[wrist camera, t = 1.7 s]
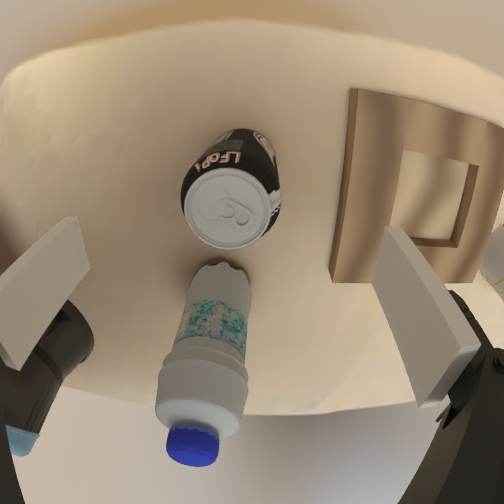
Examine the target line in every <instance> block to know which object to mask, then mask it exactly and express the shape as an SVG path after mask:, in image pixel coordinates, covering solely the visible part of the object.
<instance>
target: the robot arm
mask: <svg viewBox="0 0 504 504" xmlns="http://www.w3.org/2000/svg"><path fill="white" fill-rule="evenodd" d="M90 269H91V267H90V263H89V260H88V256H87V252H86V248H85V245H84V241H83V237H82V232H81V228H80V224H79V219H78V216H65V217H64V218H63V219H62V220H60V221H59V222H58V223H57V224H56V225H54V226H53V227H52V228H51V229H50V230H49V231H47V232H46V233H45V234H44V235H43V236H42V237H41V238H40V239H38V240H37V241H36V242H35V243H34V244H33V245H32V246H31V247H30V248H29V249H27V250H26V251H25V252H24V253H23V254H22V255H21V256H20V257H19V258H18V259H17V260H16V261H15V262H14V263H13V264H12V265H11V266H10V267H9V268H8V269H7V270H6V271H5V272H4V273H3V274H2V275H1V276H0V504H25V502H24V499H23V496H22V492H21V489H20V486H19V483H18V479H17V476H16V472H15V468H14V464H13V460H12V455H11V454H14V455H16V456H21V457H22V456H26V455H28V454H29V453H30V451H31V449H32V447H33V445H34V443H35V441H36V439H37V438H38V437H39V436H40V435H39V432H40V430H41V428H42V425H43V423H44V421H45V419H46V416H47V414H48V412H49V410H50V407H51V405H52V403H53V401H54V399H55V397H56V394H57V392H58V390H59V388H60V386H61V384H62V382H63V380H64V379H65V377H66V376H68V375H69V374H70V373H71V372H72V371H73V370H74V369H75V368H76V367H77V365H78V364H80V363H82V362H83V361H85V360H86V359H87V358H88V356H89V355H90V353H91V351H92V349H93V346H94V338H93V334H92V331H91V329H90V326H89V324H88V323H87V321H86V320H85V318H84V317H83V315H82V314H81V313H80V311H79V310H78V309H77V308H76V307H75V306H74V305H73V304H72V303H71V302H70V301H69V300H68V298H69V296H70V295H71V294H72V292H73V291H74V290H75V288H76V287H77V286H78V284H79V283H80V282H81V280H82V279H83V278H84V277H85V275H86V274H87V273H88V271H89V270H90ZM371 282H372V285H373V287H374V289H375V292H376V294H377V296H378V299H379V301H380V303H381V306H382V308H383V311H384V313H385V315H386V318H387V320H388V323H389V325H390V328H391V330H392V333H393V336H394V338H395V341H396V343H397V346H398V349H399V351H400V354H401V357H402V360H403V362H404V365H405V368H406V371H407V374H408V377H409V379H410V382H411V385H412V388H413V391H414V394H415V398H416V401H417V404H418V407H419V408H424V407H429V406H435V405H439V404H440V402H441V401H442V400H443V399H444V397H445V396H446V395H447V394H448V396H449V398H450V401H451V402H450V404H449V405H448V406H447V407H446V408H445V410H444V411H443V412H442V413H441V414H440V415H439V417H438V418H437V419H436V422H439V421H440V419H441V418H442V420H441V422H440V425H439V427H438V429H437V431H436V434H435V436H434V438H433V440H432V442H431V444H430V447H429V449H428V451H427V453H426V455H425V457H424V459H423V461H422V463H421V464H420V466H419V468H418V470H417V472H416V474H415V476H414V477H413V479H412V481H411V483H410V485H409V486H408V488H407V490H406V491H405V493H404V495H403V496H402V498H401V499H400V501H399V502H398V504H504V350H503V349H500V348H493V346H492V344H491V343H490V341H489V339H488V338H487V336H486V334H485V333H484V331H483V330H482V328H481V326H480V325H479V323H478V322H477V320H475V317H474V315H473V314H472V312H471V311H469V310H470V309H469V308H468V306H467V305H466V303H465V302H464V300H463V299H462V298H461V297H460V296H459V295H457V294H456V293H455V292H454V291H453V290H447V288H446V287H445V285H444V284H443V283H442V281H441V280H440V278H439V277H438V275H437V274H436V273H435V271H434V270H433V268H432V267H431V266H430V264H429V263H428V261H427V260H426V259H425V257H424V256H423V255H422V253H421V252H420V251H419V249H418V248H417V247H416V245H415V244H414V243H413V242H412V240H411V239H410V238H409V236H408V235H407V234H406V233H405V231H404V230H403V229H402V228H401V227H390V226H385V229H384V233H383V238H382V242H381V246H380V250H379V254H378V258H377V262H376V266H375V270H374V274H373V277H372V281H371Z"/></svg>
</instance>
